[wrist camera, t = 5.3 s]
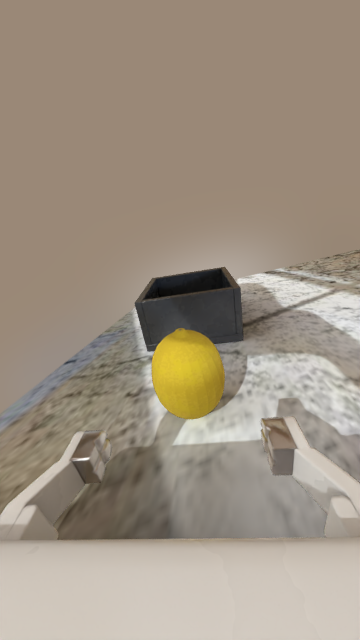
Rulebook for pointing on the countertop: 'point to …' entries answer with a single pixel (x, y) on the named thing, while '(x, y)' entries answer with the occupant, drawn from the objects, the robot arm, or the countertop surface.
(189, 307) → the dark gray open box
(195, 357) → the lemon
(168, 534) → the countertop surface
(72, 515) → the countertop surface
